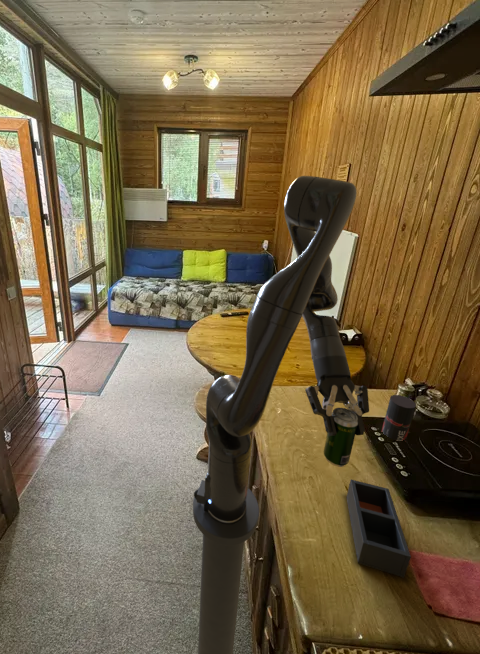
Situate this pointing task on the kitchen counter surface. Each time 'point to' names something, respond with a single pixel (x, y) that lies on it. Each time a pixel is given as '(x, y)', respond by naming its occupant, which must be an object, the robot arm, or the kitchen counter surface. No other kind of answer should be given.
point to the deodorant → (398, 417)
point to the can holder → (377, 529)
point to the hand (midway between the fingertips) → (346, 434)
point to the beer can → (341, 437)
